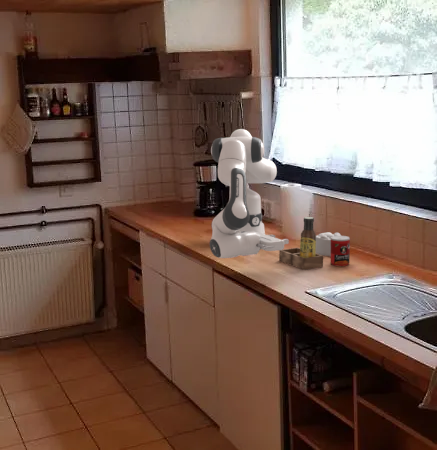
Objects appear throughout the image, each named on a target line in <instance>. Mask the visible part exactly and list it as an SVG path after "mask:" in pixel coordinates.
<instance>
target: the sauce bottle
mask: <svg viewBox="0 0 437 450" xmlns="http://www.w3.org/2000/svg"><path fill="white" fill-rule="evenodd" d="M314 221H315V218H314V217H312V216H305V217H303V230H302V232H301V233H300V242H299V245H300V246H299V248H300V257H303V258H309V257H315V253H316V236H317V235H316V232H315V230H314ZM316 254H317V253H316Z"/></svg>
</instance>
